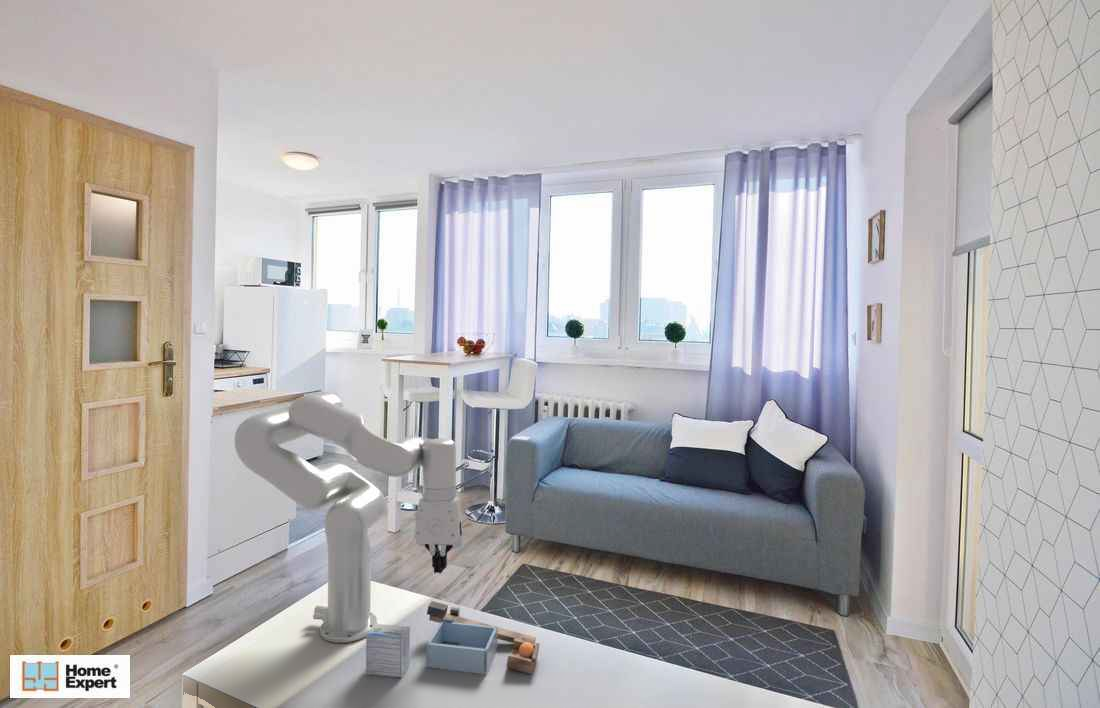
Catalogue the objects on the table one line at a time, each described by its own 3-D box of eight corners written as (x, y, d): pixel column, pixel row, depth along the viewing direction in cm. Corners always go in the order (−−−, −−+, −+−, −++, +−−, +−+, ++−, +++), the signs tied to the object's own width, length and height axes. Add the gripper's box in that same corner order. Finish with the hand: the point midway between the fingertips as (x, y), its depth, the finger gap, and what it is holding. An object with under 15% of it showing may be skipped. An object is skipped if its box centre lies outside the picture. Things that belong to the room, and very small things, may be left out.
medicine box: (410, 665, 112) (410, 625, 111) (402, 679, 107) (402, 637, 107) (374, 662, 112) (375, 622, 112) (365, 675, 108) (365, 634, 108)
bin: (426, 667, 111) (426, 644, 111) (441, 642, 120) (441, 621, 120) (486, 674, 109) (487, 650, 109) (497, 648, 118) (497, 626, 118)
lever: (410, 641, 113) (412, 626, 113) (429, 613, 124) (432, 600, 124) (532, 675, 109) (535, 660, 109) (541, 644, 120) (543, 630, 120)
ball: (515, 658, 111) (521, 645, 111) (518, 649, 114) (524, 636, 114) (528, 665, 111) (534, 652, 111) (531, 656, 114) (537, 643, 114)
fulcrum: (433, 644, 119) (434, 620, 119) (444, 627, 126) (444, 604, 126) (459, 647, 118) (459, 623, 118) (468, 630, 125) (468, 607, 125)
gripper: (402, 496, 119) (402, 575, 120) (465, 499, 117) (465, 580, 117) (415, 486, 126) (415, 561, 127) (475, 489, 124) (475, 565, 125)
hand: (439, 570), depth 122 cm, fingers closed
